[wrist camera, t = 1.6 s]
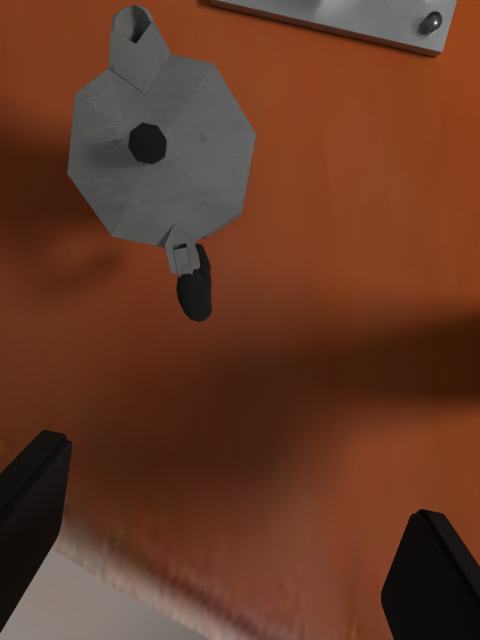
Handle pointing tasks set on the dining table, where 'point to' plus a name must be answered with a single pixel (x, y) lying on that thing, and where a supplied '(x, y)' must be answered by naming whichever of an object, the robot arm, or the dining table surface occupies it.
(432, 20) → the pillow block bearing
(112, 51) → the coffeepot
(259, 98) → the dining table surface
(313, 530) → the dining table surface
